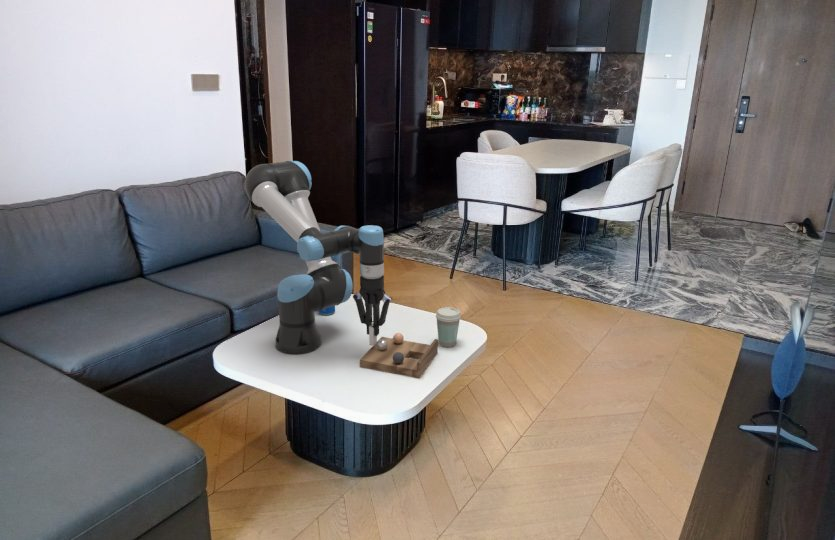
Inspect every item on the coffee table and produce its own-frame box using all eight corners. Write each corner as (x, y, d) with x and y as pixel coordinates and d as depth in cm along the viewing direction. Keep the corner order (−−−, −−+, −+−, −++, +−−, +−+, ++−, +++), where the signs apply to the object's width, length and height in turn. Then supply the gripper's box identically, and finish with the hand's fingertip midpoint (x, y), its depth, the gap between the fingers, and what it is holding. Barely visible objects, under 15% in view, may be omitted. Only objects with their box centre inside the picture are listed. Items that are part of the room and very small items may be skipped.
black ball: (391, 364, 180) (391, 354, 179) (395, 359, 184) (395, 349, 182) (401, 366, 179) (401, 355, 178) (405, 361, 183) (405, 351, 181)
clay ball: (391, 344, 194) (391, 334, 193) (395, 340, 197) (395, 330, 196) (401, 346, 193) (401, 336, 191) (405, 341, 196) (405, 332, 195)
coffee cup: (457, 350, 196) (459, 317, 192) (432, 347, 197) (433, 315, 194) (461, 339, 204) (462, 307, 200) (437, 337, 205) (438, 305, 201)
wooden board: (359, 366, 184) (359, 352, 182) (381, 343, 200) (381, 330, 198) (419, 378, 178) (420, 363, 176) (437, 353, 194) (437, 339, 192)
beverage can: (315, 315, 222) (314, 285, 218) (321, 308, 228) (320, 280, 224) (332, 316, 221) (331, 287, 217) (337, 310, 227) (336, 281, 223)
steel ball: (375, 351, 189) (375, 341, 188) (379, 346, 192) (379, 336, 191) (385, 352, 188) (385, 343, 187) (389, 348, 191) (389, 338, 190)
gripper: (347, 276, 181) (350, 345, 189) (386, 281, 177) (387, 351, 185) (358, 269, 188) (359, 336, 195) (395, 274, 184) (396, 342, 191)
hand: (373, 343), depth 190 cm, fingers closed
